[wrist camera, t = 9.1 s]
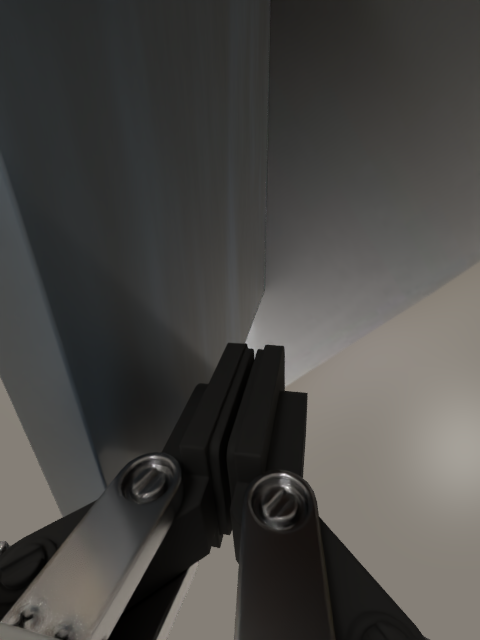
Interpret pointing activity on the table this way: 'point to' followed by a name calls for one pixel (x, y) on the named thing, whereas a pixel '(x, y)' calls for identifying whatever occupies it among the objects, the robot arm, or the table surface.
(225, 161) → the door
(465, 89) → the table surface
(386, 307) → the table surface
